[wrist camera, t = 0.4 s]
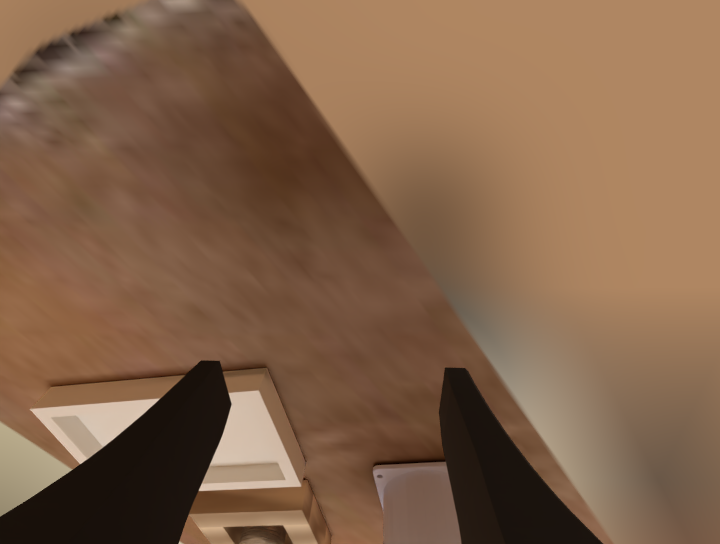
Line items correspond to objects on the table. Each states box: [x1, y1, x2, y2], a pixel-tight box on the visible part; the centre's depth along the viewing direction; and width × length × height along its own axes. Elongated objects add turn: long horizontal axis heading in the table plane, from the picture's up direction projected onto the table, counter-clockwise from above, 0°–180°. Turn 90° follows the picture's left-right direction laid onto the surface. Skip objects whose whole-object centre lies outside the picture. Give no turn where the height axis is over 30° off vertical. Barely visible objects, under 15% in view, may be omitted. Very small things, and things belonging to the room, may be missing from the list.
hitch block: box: [189, 480, 331, 544], centre depth 35 cm, size 10×10×2 cm
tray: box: [30, 368, 306, 491], centre depth 29 cm, size 11×17×2 cm, turn 100°
